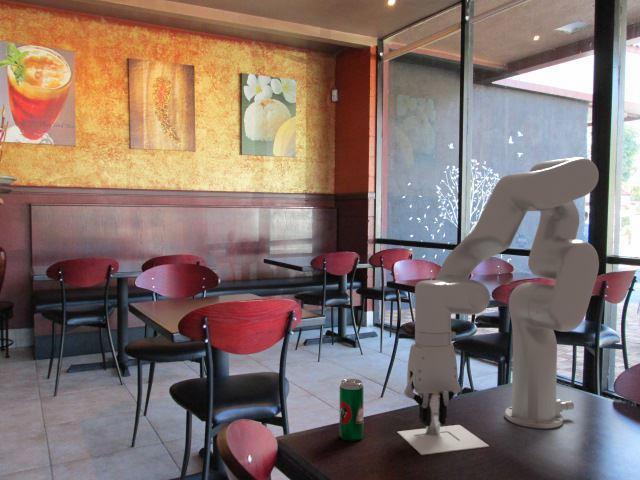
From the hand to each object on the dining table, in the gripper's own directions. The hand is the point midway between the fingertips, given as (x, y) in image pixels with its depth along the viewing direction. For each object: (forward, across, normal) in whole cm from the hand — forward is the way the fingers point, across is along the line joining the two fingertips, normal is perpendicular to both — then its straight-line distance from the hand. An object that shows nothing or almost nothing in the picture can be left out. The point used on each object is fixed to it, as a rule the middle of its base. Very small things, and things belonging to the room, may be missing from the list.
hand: (433, 422), depth 120 cm
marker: (+2, 0, 0) cm, 2 cm away
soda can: (+3, +18, -3) cm, 18 cm away
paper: (+3, 0, +3) cm, 4 cm away
